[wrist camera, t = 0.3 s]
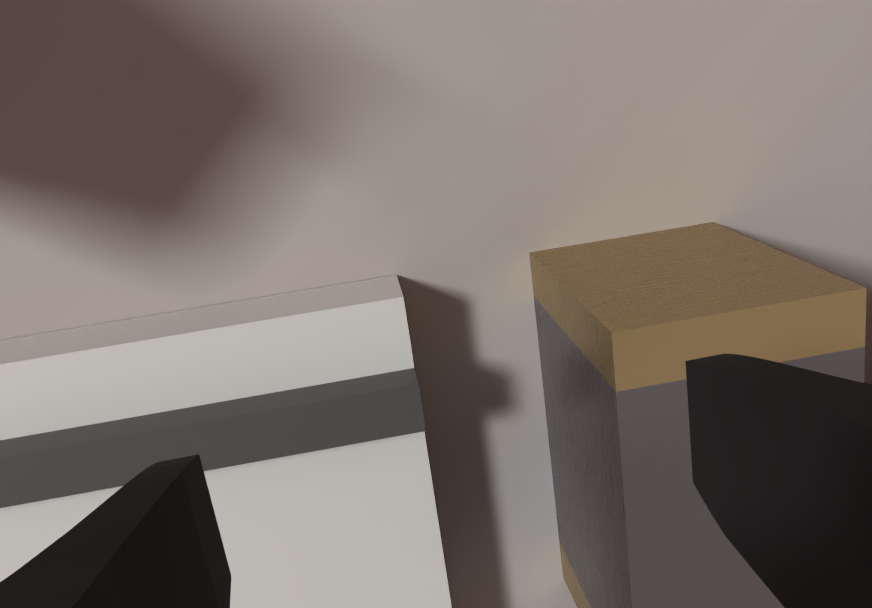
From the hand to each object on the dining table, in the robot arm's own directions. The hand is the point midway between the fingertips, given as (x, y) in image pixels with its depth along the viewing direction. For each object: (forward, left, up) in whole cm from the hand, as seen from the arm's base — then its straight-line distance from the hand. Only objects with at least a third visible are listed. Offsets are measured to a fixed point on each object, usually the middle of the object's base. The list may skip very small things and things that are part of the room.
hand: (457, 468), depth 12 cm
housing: (-5, -6, -10) cm, 12 cm away
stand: (-7, +6, -10) cm, 13 cm away
